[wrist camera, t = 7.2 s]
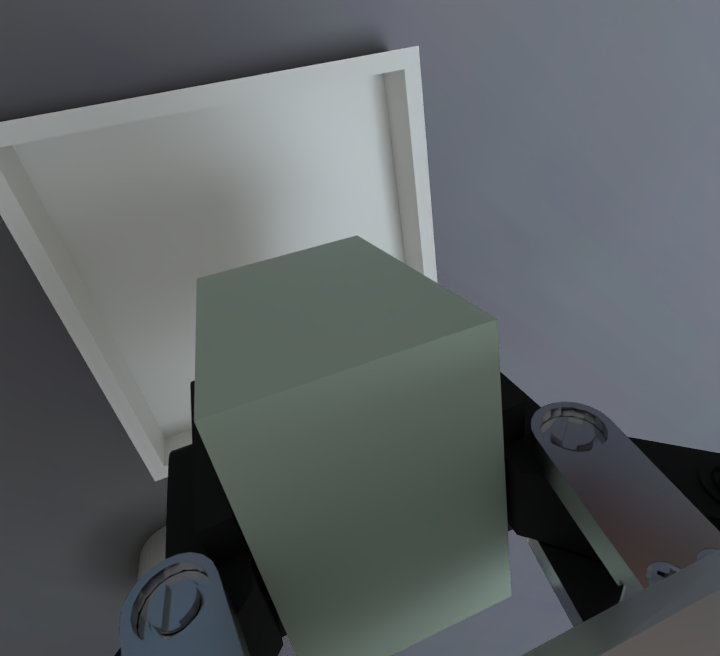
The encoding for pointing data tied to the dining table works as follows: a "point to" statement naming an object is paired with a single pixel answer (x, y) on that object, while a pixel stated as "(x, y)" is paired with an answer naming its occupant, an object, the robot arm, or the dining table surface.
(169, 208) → the tray
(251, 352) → the sage block
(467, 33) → the dining table surface
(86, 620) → the dining table surface
